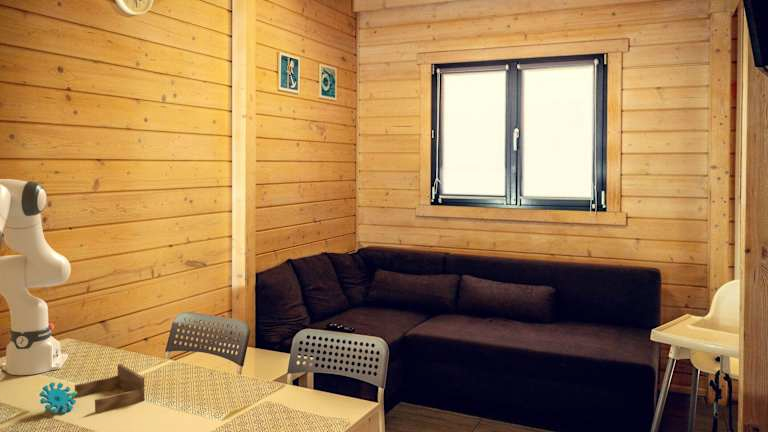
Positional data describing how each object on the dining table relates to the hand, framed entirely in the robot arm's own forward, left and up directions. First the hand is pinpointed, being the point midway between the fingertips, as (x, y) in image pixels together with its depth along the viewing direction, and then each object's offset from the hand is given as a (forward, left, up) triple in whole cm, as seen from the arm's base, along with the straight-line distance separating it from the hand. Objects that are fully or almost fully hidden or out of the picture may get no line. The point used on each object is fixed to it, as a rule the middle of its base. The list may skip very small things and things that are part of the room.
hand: (1, 377), depth 175 cm
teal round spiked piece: (-9, +11, -13) cm, 20 cm away
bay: (-18, +22, -13) cm, 31 cm away
